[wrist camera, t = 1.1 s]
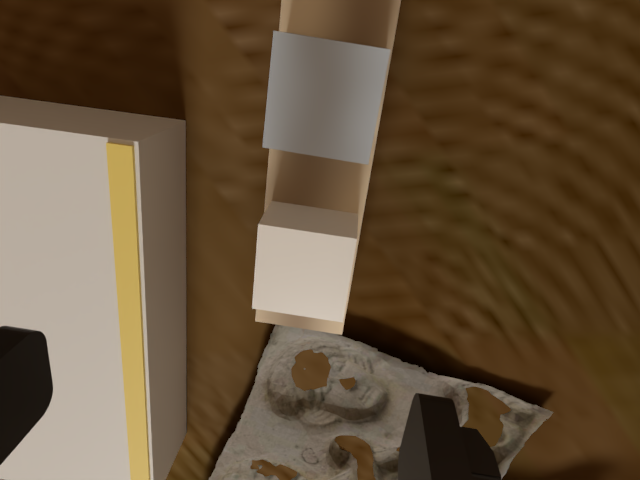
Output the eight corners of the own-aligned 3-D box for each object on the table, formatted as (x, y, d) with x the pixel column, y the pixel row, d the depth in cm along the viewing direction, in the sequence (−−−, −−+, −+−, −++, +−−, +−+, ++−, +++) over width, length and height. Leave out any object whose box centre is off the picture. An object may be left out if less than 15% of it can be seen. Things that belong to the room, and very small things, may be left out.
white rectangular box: (185, 120, 26) (136, 142, 20) (186, 432, 36) (153, 506, 30) (-19, 92, 26) (-124, 107, 21) (37, 409, 36) (-24, 477, 30)
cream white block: (358, 213, 23) (357, 239, 20) (345, 289, 25) (342, 322, 22) (271, 200, 23) (258, 224, 20) (265, 277, 25) (251, 308, 22)
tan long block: (398, -16, 23) (406, -29, 19) (345, 294, 30) (342, 334, 26) (299, -29, 23) (285, -45, 19) (270, 283, 30) (255, 321, 26)
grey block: (386, 48, 20) (390, 49, 17) (367, 148, 22) (368, 164, 19) (286, 32, 20) (273, 30, 17) (275, 133, 22) (262, 147, 19)
